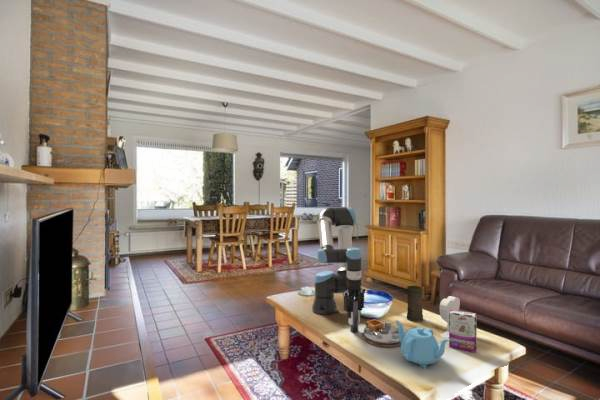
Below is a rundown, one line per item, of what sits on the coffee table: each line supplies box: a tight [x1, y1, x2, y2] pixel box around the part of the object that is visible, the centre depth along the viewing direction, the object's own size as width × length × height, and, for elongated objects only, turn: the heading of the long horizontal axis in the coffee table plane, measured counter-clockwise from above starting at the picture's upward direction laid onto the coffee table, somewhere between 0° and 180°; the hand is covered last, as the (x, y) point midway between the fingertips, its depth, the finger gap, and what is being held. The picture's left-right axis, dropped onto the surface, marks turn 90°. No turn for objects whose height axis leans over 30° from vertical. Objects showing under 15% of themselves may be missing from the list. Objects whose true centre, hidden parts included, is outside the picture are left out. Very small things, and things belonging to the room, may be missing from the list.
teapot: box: [395, 319, 450, 369], centre depth 139 cm, size 16×20×14 cm
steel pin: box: [349, 298, 359, 334], centre depth 170 cm, size 4×4×16 cm
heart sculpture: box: [439, 295, 461, 339], centre depth 166 cm, size 16×5×18 cm, turn 132°
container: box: [406, 285, 424, 323], centre depth 185 cm, size 9×9×18 cm
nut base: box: [362, 332, 401, 349], centre depth 161 cm, size 20×20×1 cm
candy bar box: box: [448, 310, 478, 353], centre depth 150 cm, size 11×5×16 cm, turn 59°
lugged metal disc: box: [363, 318, 400, 345], centre depth 161 cm, size 19×19×4 cm
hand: (354, 323), depth 170 cm, fingers closed on steel pin, 4 cm apart
